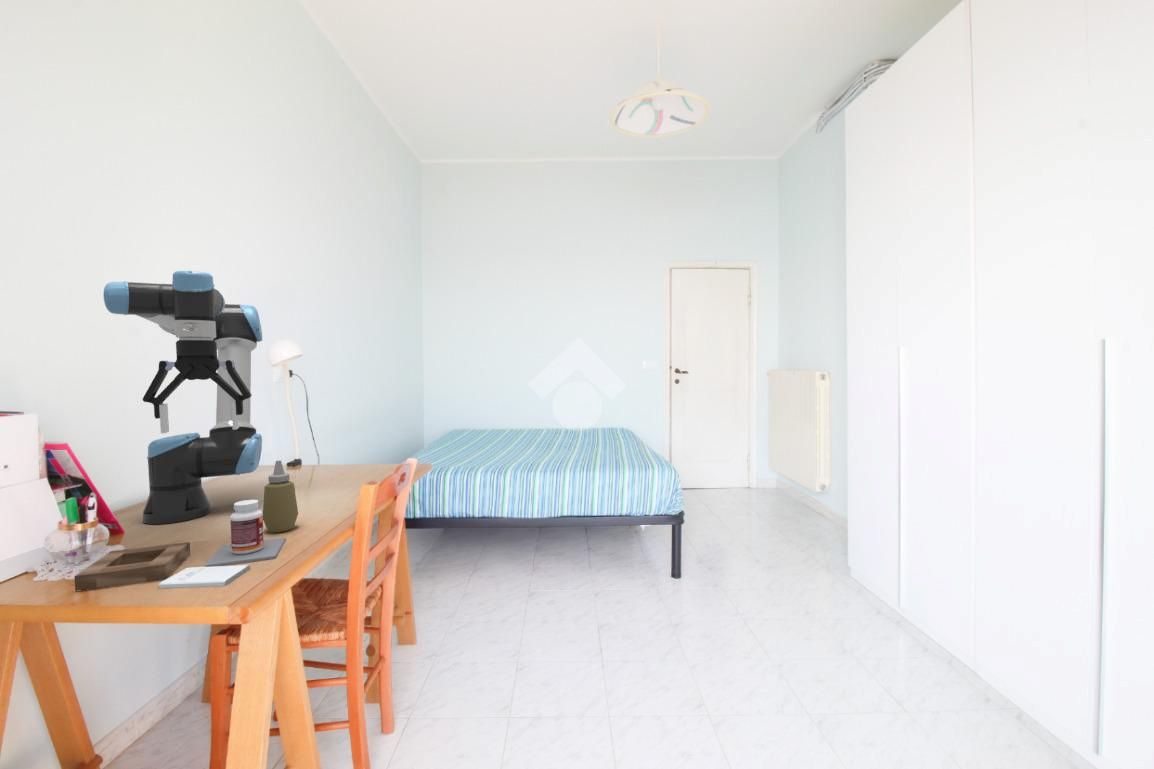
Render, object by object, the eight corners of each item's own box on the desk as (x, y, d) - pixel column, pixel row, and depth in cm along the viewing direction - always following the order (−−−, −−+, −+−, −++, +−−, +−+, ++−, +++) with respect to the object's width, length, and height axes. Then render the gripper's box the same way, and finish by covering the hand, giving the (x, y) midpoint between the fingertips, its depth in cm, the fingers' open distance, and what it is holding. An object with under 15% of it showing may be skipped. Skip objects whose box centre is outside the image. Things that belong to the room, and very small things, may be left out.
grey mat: (222, 547, 118) (222, 545, 118) (285, 539, 122) (285, 537, 122) (204, 568, 105) (204, 565, 105) (275, 558, 110) (275, 555, 110)
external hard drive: (225, 589, 97) (158, 591, 96) (250, 571, 105) (189, 573, 104) (224, 581, 97) (157, 583, 96) (250, 564, 105) (188, 565, 104)
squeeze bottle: (306, 525, 133) (303, 458, 132) (280, 535, 125) (277, 464, 125) (281, 523, 135) (279, 457, 135) (255, 533, 127) (252, 463, 127)
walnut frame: (111, 564, 108) (111, 551, 108) (190, 554, 113) (189, 541, 113) (75, 591, 95) (74, 576, 95) (165, 579, 100) (165, 564, 100)
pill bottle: (267, 550, 114) (265, 502, 113) (234, 557, 110) (232, 507, 109) (260, 543, 118) (258, 497, 118) (229, 550, 114) (227, 502, 114)
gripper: (120, 338, 107) (126, 436, 109) (256, 339, 117) (260, 429, 119) (134, 339, 114) (140, 431, 115) (262, 340, 124) (266, 425, 125)
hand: (201, 430), depth 117 cm, fingers open, 13 cm apart
